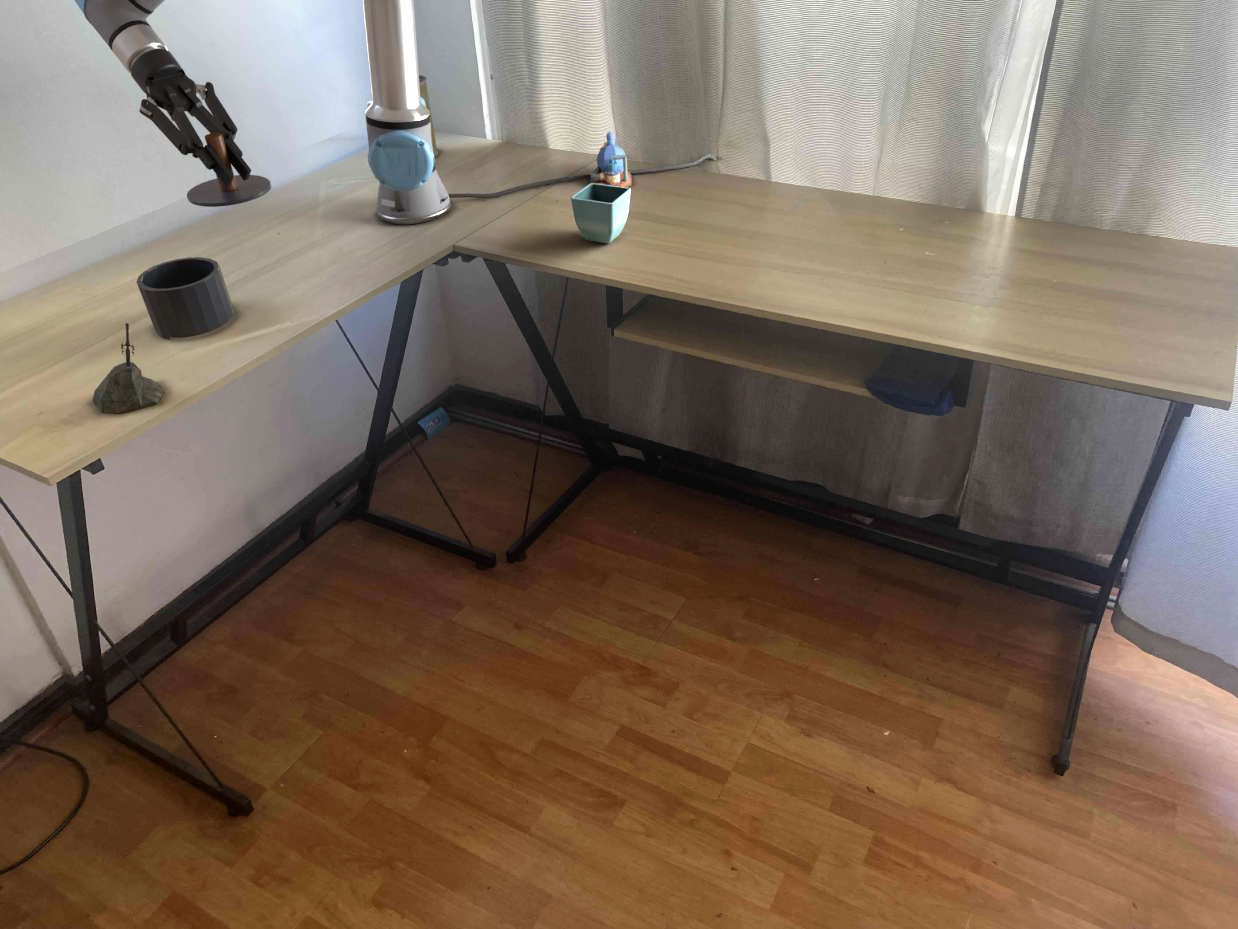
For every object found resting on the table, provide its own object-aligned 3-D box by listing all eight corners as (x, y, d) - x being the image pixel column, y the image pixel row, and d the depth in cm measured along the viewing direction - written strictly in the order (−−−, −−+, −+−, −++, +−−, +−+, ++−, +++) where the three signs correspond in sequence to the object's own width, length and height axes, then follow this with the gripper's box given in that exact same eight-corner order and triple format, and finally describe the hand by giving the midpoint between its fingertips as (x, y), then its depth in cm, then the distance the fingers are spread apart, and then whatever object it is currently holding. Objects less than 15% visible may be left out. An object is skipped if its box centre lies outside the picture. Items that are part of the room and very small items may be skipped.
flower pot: (633, 232, 180) (631, 187, 174) (614, 249, 173) (612, 203, 168) (593, 226, 183) (590, 182, 177) (573, 243, 176) (569, 198, 171)
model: (589, 172, 208) (587, 131, 203) (630, 170, 208) (629, 128, 203) (590, 191, 199) (587, 148, 193) (632, 189, 199) (631, 146, 193)
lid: (261, 175, 166) (245, 117, 160) (282, 197, 156) (266, 136, 150) (181, 192, 160) (161, 133, 154) (198, 216, 150) (178, 154, 144)
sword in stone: (85, 418, 133) (51, 345, 126) (100, 390, 140) (68, 319, 133) (157, 409, 135) (127, 336, 127) (168, 381, 141) (141, 311, 134)
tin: (224, 298, 164) (209, 250, 158) (243, 325, 155) (227, 276, 150) (149, 318, 159) (130, 270, 153) (163, 348, 150) (144, 297, 144)
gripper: (187, 66, 160) (272, 177, 162) (101, 88, 150) (192, 206, 152) (196, 36, 154) (283, 151, 156) (107, 57, 144) (201, 180, 146)
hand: (238, 178), depth 154 cm, fingers closed on lid, 3 cm apart
